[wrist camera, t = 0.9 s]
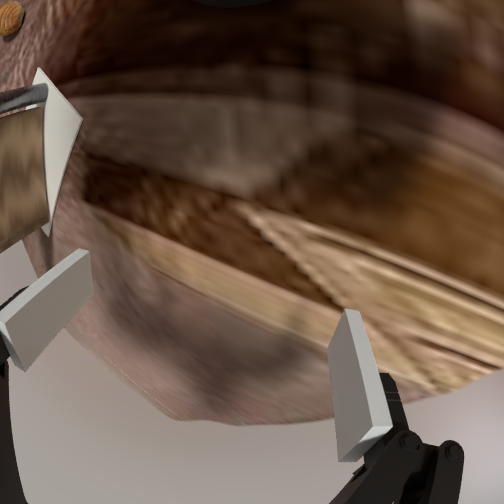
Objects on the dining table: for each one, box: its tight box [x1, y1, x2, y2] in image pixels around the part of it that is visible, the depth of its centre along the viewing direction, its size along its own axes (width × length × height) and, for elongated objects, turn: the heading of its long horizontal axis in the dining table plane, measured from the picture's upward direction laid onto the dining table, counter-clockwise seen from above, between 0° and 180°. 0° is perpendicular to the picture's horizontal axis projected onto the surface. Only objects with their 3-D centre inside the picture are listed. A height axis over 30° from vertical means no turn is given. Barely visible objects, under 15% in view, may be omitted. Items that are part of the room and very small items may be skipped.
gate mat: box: [26, 68, 83, 237], centre depth 32 cm, size 24×14×1 cm, turn 138°
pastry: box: [0, 1, 25, 36], centre depth 19 cm, size 9×7×4 cm
